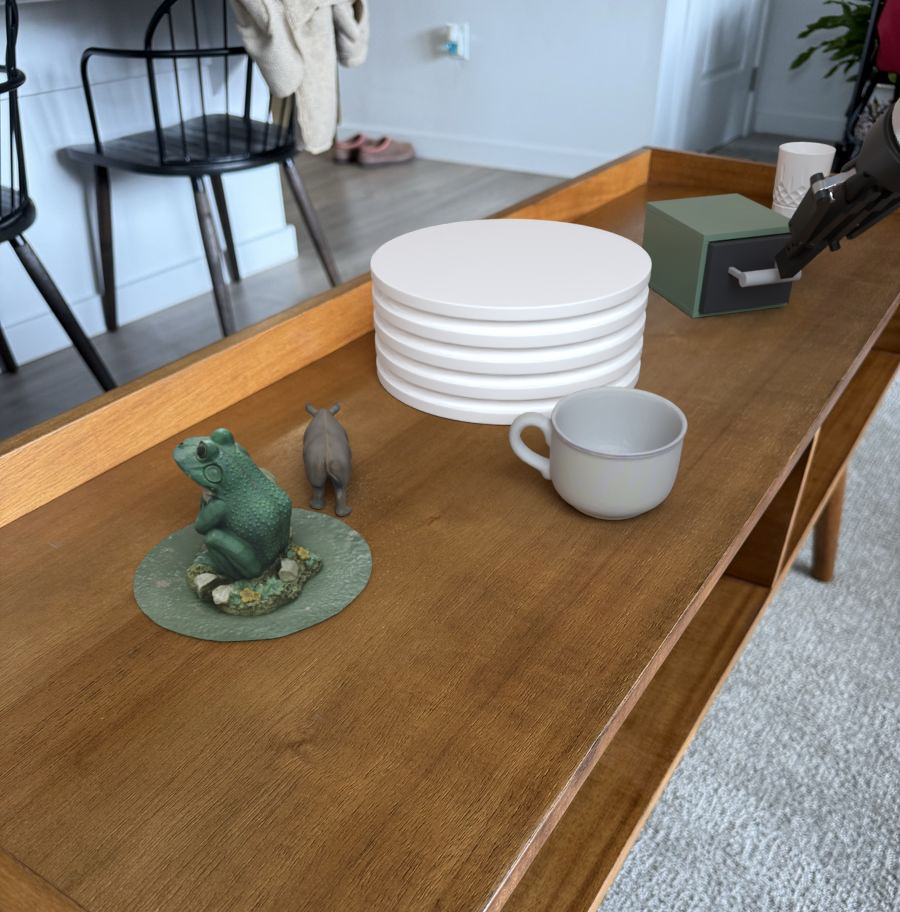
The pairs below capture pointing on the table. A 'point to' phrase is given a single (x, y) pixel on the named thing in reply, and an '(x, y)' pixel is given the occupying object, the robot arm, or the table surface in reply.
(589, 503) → the teacup
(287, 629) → the frog figurine
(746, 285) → the drawer
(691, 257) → the cabinet
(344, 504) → the rhino figurine
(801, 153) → the white cup
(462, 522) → the table surface
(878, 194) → the robot arm
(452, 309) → the plate stack
